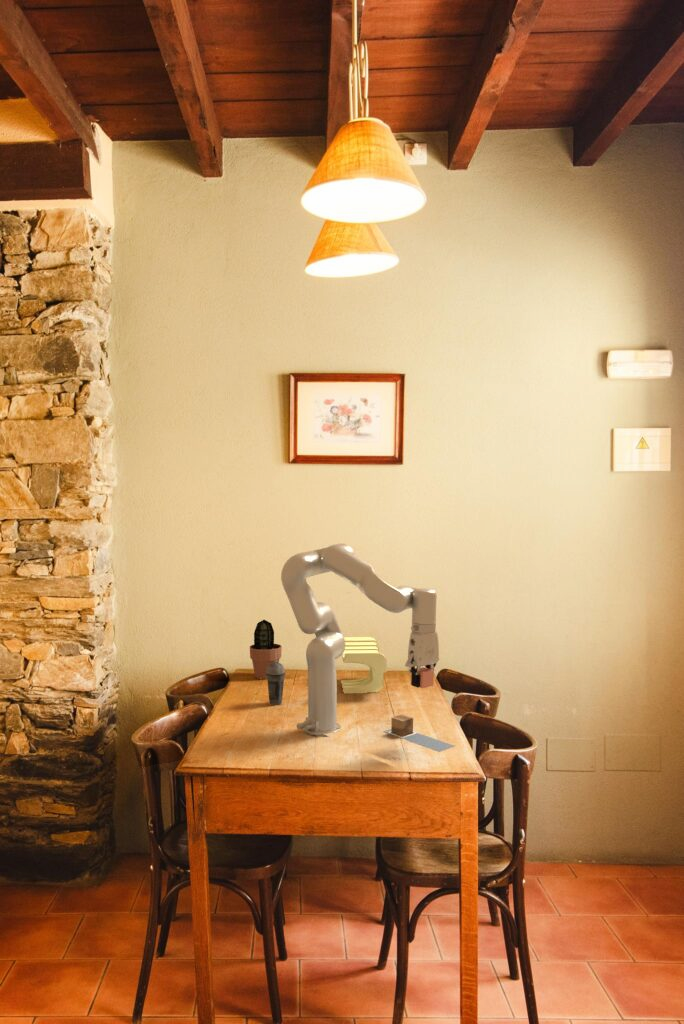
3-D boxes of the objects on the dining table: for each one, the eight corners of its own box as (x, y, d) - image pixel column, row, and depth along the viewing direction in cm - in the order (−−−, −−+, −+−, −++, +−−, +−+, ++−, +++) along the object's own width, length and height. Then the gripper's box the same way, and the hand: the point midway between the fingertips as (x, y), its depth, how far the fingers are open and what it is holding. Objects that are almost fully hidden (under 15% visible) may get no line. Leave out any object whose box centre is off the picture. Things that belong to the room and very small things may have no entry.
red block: (422, 688, 224) (422, 672, 224) (410, 684, 228) (411, 669, 228) (433, 685, 227) (433, 670, 227) (421, 682, 231) (422, 666, 231)
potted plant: (287, 675, 310) (288, 618, 309) (268, 682, 298) (268, 623, 298) (263, 671, 317) (263, 615, 316) (243, 678, 306) (243, 619, 305)
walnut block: (402, 736, 231) (402, 721, 231) (391, 732, 235) (391, 717, 235) (413, 733, 234) (413, 718, 234) (401, 729, 238) (401, 714, 238)
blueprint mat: (439, 755, 218) (439, 751, 218) (383, 734, 236) (383, 731, 236) (455, 749, 223) (455, 745, 223) (399, 729, 241) (399, 726, 241)
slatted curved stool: (386, 698, 276) (386, 652, 276) (345, 699, 275) (345, 653, 275) (377, 678, 306) (377, 636, 306) (339, 678, 305) (340, 637, 305)
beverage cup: (285, 700, 273) (285, 648, 272) (284, 706, 266) (285, 653, 265) (266, 700, 273) (266, 648, 272) (265, 706, 265) (265, 653, 265)
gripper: (413, 633, 218) (412, 692, 219) (450, 627, 230) (448, 683, 230) (396, 629, 224) (394, 686, 225) (432, 623, 235) (430, 678, 236)
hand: (421, 684), depth 228 cm, fingers closed on red block, 4 cm apart
